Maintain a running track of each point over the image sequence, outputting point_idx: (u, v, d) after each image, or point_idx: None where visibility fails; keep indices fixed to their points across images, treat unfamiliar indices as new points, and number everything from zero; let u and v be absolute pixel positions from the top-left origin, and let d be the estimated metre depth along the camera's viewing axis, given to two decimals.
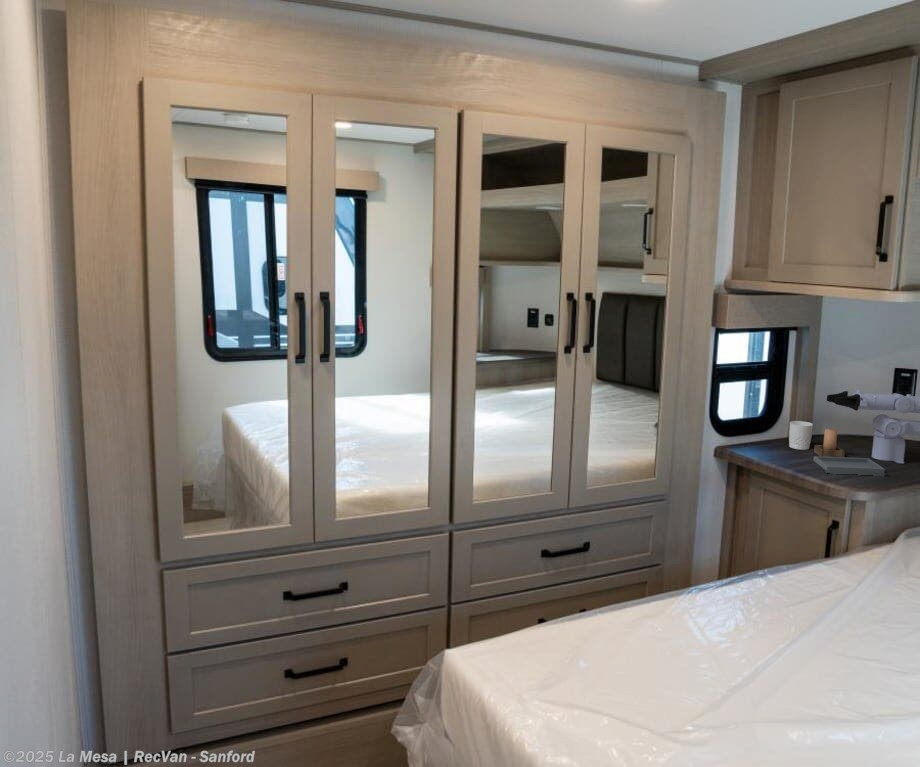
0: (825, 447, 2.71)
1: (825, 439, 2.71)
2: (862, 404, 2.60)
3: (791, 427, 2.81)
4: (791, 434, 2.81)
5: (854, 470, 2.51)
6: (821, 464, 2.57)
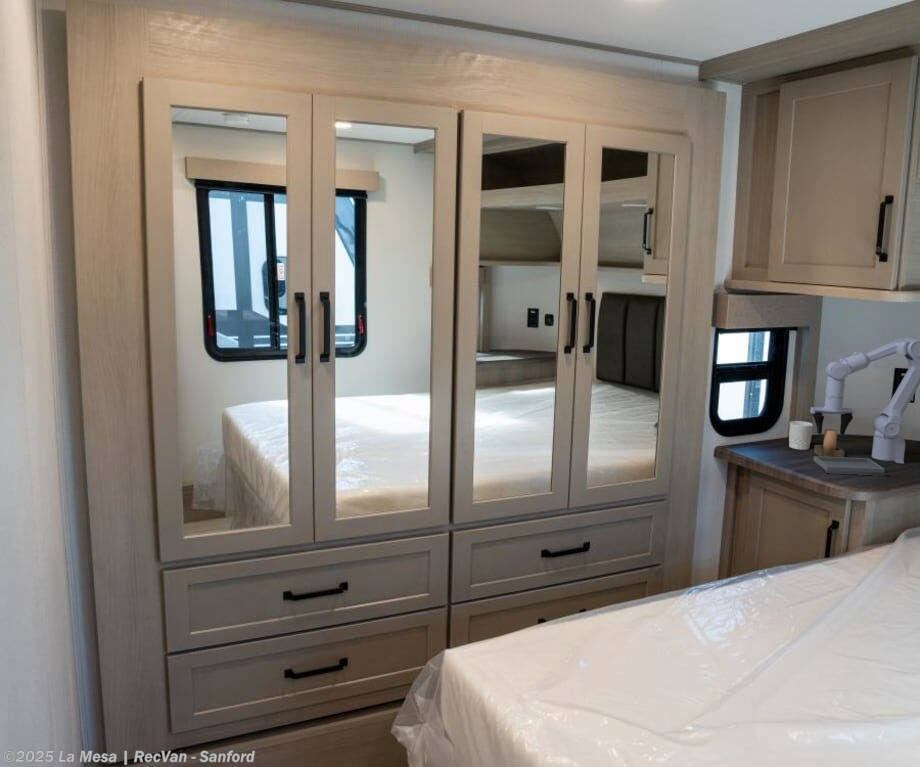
0: (825, 447, 2.71)
1: (825, 439, 2.71)
2: (811, 412, 2.70)
3: (791, 427, 2.81)
4: (791, 434, 2.81)
5: (854, 470, 2.51)
6: (821, 464, 2.57)
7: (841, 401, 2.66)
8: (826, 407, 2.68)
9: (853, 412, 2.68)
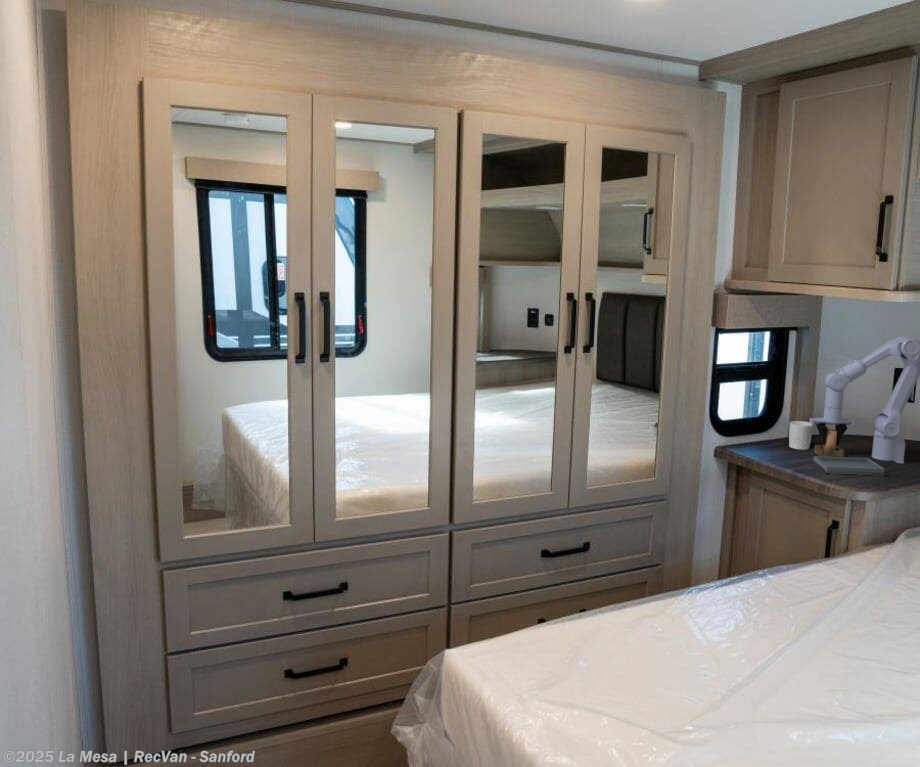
0: (825, 447, 2.71)
1: None
2: (810, 422, 2.70)
3: (791, 427, 2.81)
4: (791, 434, 2.81)
5: (854, 470, 2.51)
6: (821, 464, 2.57)
7: (840, 412, 2.67)
8: (825, 418, 2.69)
9: (852, 423, 2.68)
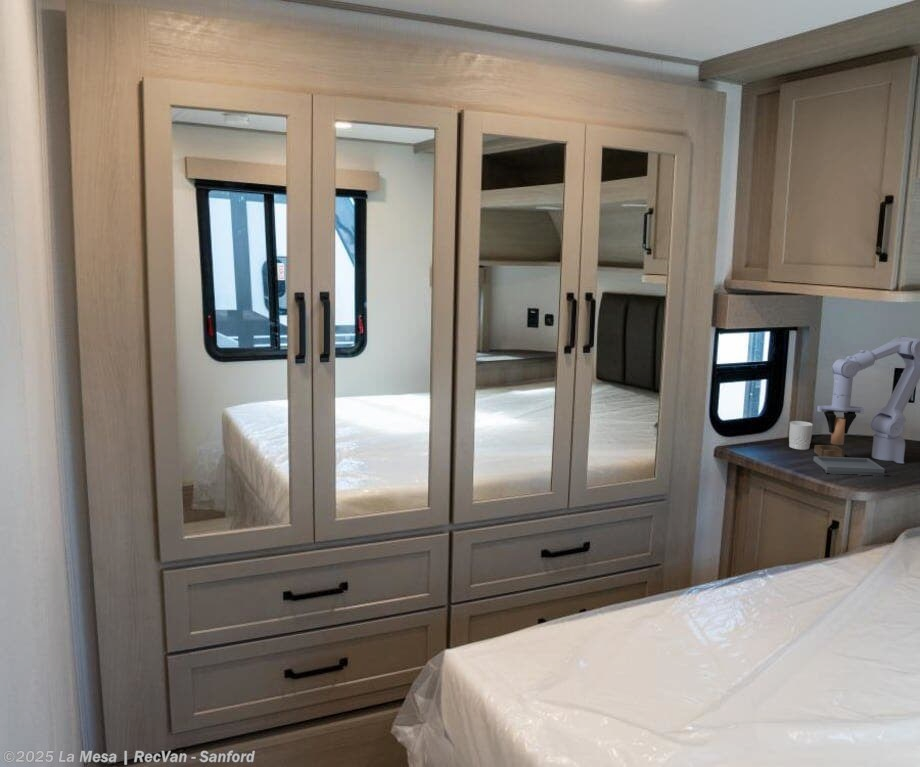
0: (833, 435, 2.64)
1: None
2: (818, 410, 2.64)
3: (791, 427, 2.81)
4: (791, 434, 2.81)
5: (854, 470, 2.51)
6: (821, 464, 2.57)
7: (849, 399, 2.60)
8: (834, 406, 2.62)
9: (861, 410, 2.62)
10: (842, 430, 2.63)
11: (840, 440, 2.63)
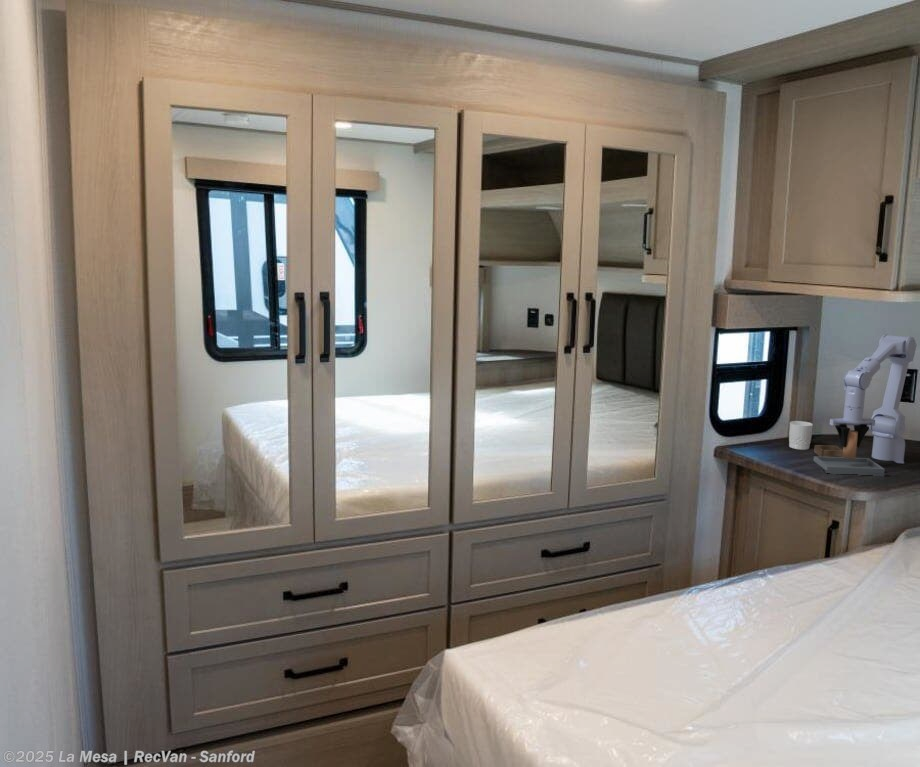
0: (846, 449, 2.55)
1: None
2: (831, 424, 2.54)
3: (791, 427, 2.81)
4: (791, 434, 2.81)
5: (854, 470, 2.51)
6: (821, 464, 2.57)
7: (862, 412, 2.52)
8: (847, 419, 2.53)
9: (873, 423, 2.54)
10: (855, 443, 2.54)
11: (853, 454, 2.54)
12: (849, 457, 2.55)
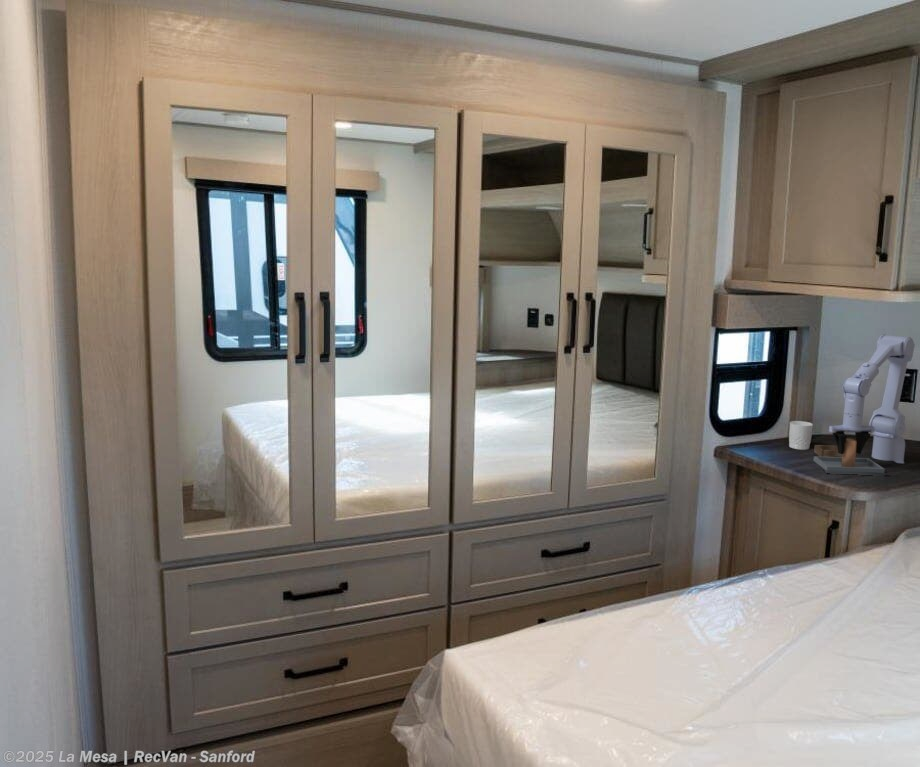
0: (845, 458, 2.56)
1: (845, 450, 2.55)
2: (831, 431, 2.54)
3: (791, 427, 2.81)
4: (791, 434, 2.81)
5: (854, 470, 2.51)
6: (821, 464, 2.57)
7: (861, 419, 2.52)
8: (846, 426, 2.53)
9: (872, 430, 2.54)
10: (854, 452, 2.55)
11: (852, 463, 2.55)
12: (848, 466, 2.55)
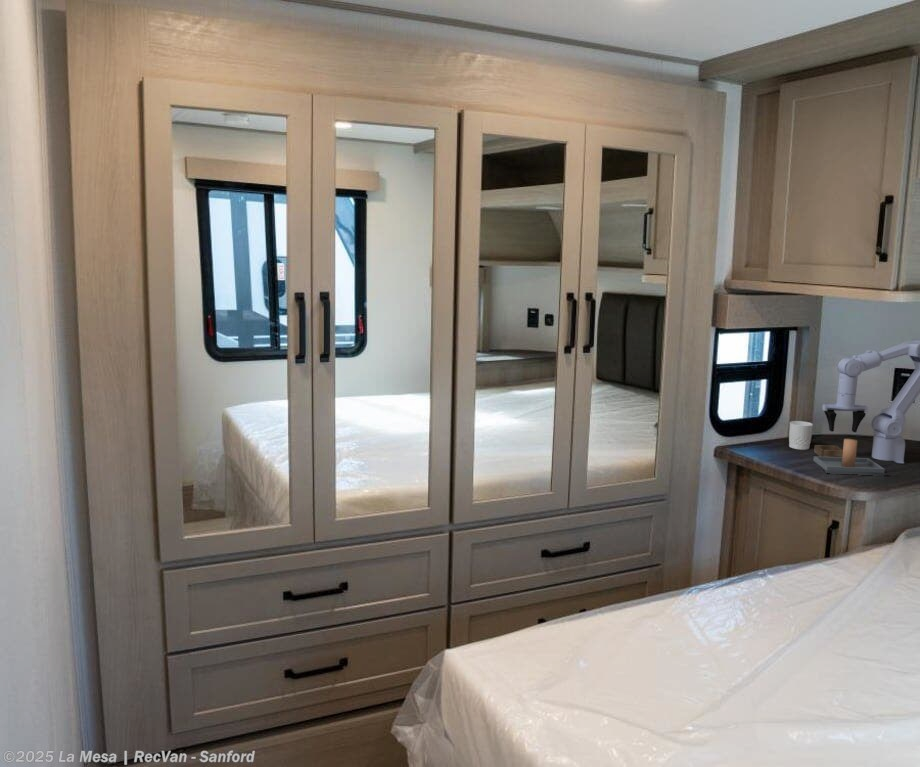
0: (845, 458, 2.56)
1: (845, 450, 2.55)
2: (823, 409, 2.66)
3: (791, 427, 2.81)
4: (791, 434, 2.81)
5: (854, 470, 2.51)
6: (821, 464, 2.57)
7: (854, 398, 2.63)
8: (839, 404, 2.65)
9: (865, 409, 2.64)
10: (854, 452, 2.55)
11: (852, 463, 2.55)
12: (848, 466, 2.55)
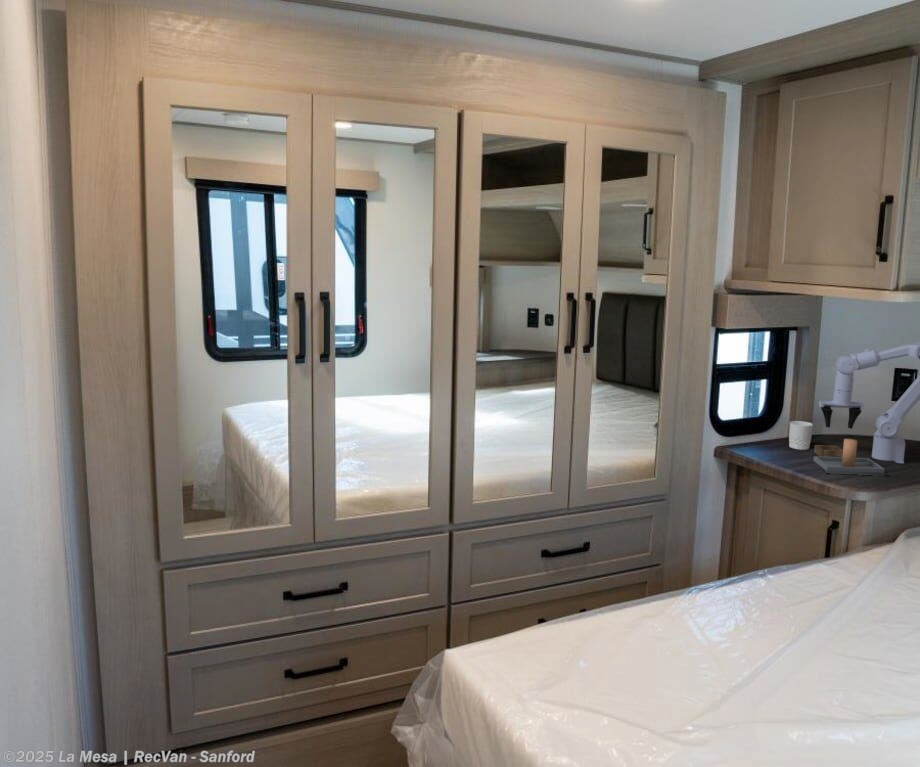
0: (845, 458, 2.56)
1: (845, 450, 2.55)
2: (820, 405, 2.72)
3: (791, 427, 2.81)
4: (791, 434, 2.81)
5: (854, 470, 2.51)
6: (821, 464, 2.57)
7: (850, 395, 2.68)
8: (835, 401, 2.70)
9: (861, 406, 2.70)
10: (854, 452, 2.55)
11: (852, 463, 2.55)
12: (848, 466, 2.55)
